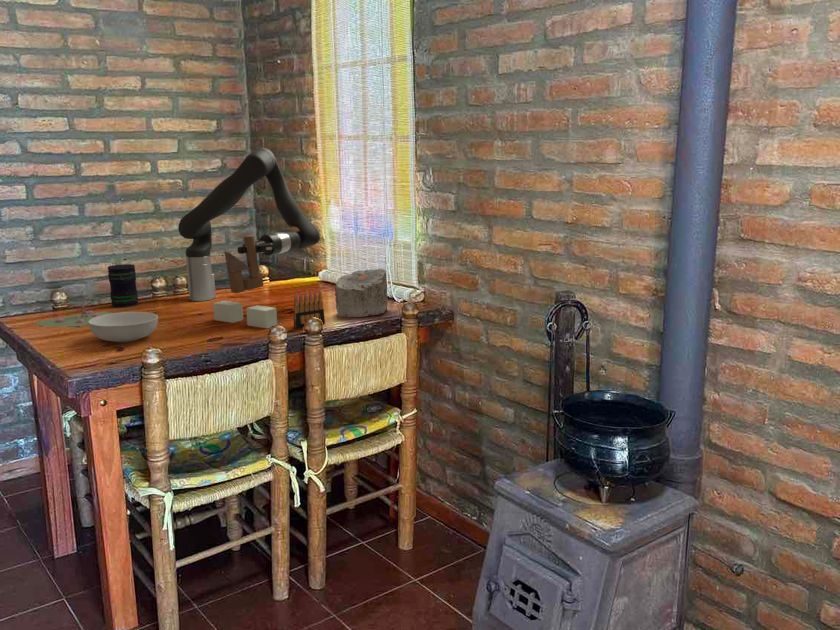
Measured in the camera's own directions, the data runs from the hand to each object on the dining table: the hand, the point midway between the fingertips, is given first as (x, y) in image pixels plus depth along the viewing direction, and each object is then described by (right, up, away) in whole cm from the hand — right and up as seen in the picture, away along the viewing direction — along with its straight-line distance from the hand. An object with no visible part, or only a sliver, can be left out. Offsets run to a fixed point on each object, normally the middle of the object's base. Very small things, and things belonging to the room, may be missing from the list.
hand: (239, 250), depth 267 cm
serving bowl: (-34, -30, -13) cm, 46 cm away
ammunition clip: (+23, -25, +1) cm, 35 cm away
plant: (-61, -24, +14) cm, 67 cm away
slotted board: (+1, -24, +6) cm, 25 cm away
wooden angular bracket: (+2, -13, +4) cm, 14 cm away
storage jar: (-52, -18, +38) cm, 67 cm away
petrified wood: (+40, -21, +18) cm, 49 cm away
